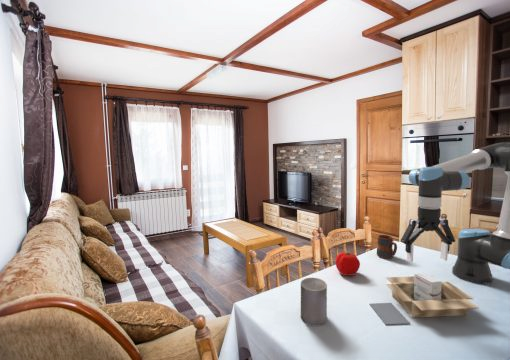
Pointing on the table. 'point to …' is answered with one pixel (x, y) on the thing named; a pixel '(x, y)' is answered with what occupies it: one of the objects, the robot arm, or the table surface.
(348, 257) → the tomato
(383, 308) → the mat
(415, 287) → the ink box
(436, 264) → the table surface
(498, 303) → the table surface
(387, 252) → the mug
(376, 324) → the table surface
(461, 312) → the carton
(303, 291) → the pillar candle
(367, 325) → the table surface
